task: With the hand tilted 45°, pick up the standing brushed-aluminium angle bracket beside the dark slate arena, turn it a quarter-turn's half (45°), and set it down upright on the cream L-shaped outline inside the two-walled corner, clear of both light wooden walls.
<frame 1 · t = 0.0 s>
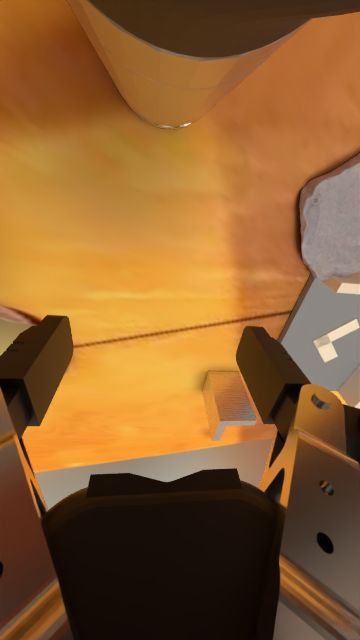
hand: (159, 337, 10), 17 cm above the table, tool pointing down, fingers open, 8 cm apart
arena: (330, 339, 36), on the table
bracket: (219, 381, 40), on the table
stone block: (332, 221, 26), on the table, touching arena
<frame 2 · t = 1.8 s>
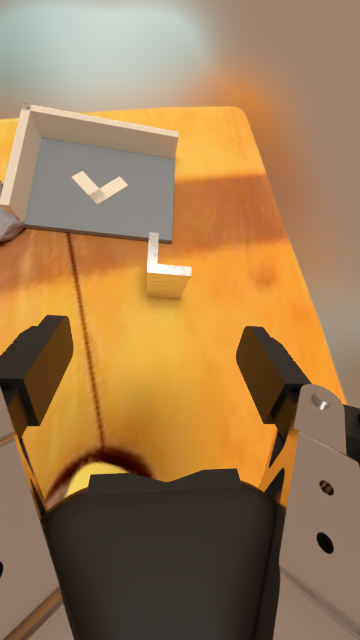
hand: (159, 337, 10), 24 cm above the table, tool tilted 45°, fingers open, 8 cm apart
arena: (104, 189, 39), on the table
bracket: (163, 281, 37), on the table
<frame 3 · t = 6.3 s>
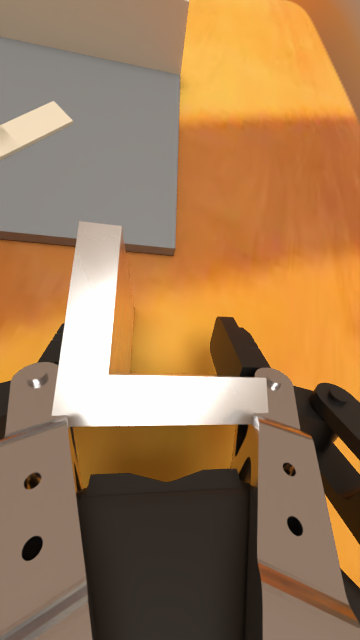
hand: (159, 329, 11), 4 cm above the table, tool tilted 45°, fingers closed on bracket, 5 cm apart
arena: (20, 133, 17), on the table
bracket: (155, 349, 15), on the table, touching gripper
when the fingers open (7 cm above the table, at t = 12.6 s): bracket drops 1 cm, resting on arena.
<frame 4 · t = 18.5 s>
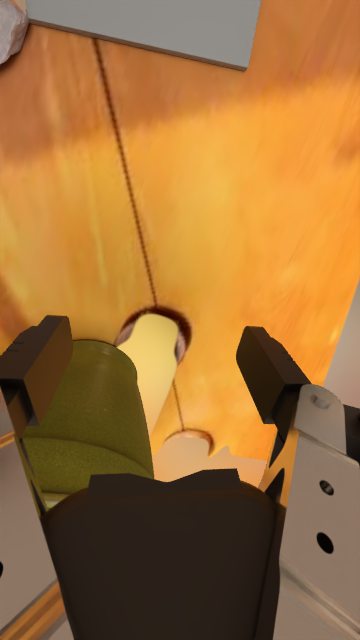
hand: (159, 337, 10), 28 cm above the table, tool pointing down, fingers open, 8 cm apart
plant pot: (92, 371, 49), on the table
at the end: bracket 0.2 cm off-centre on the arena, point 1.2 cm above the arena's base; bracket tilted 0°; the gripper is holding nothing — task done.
